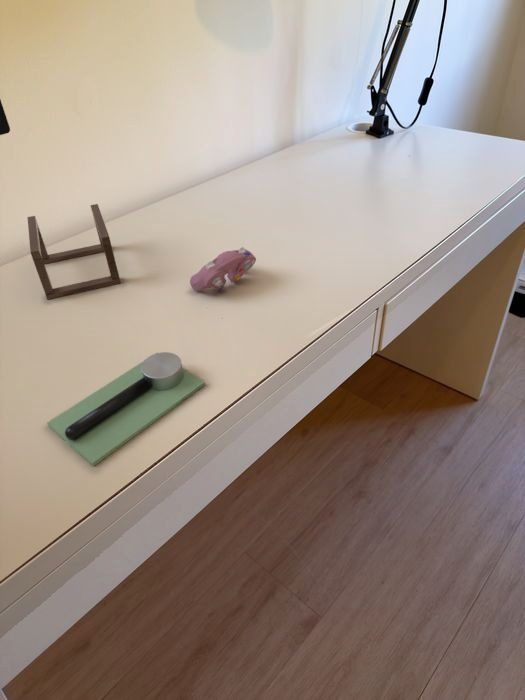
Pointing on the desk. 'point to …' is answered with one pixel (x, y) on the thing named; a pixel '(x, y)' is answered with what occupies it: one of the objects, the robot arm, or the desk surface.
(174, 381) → the grey saucepan
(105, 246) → the rack
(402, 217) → the desk surface
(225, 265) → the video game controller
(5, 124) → the robot arm
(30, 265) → the desk surface
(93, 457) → the mat
